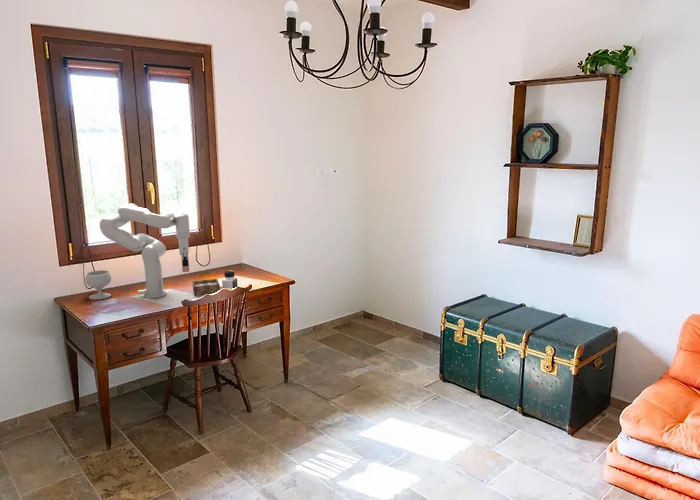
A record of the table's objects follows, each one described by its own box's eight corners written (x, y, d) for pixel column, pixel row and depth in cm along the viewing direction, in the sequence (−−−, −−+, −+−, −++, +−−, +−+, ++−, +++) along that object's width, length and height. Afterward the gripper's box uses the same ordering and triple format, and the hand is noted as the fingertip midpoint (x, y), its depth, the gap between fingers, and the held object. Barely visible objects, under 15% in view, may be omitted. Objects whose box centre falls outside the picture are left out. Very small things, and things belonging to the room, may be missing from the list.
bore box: (194, 296, 303) (193, 287, 302) (192, 290, 316) (192, 281, 315) (220, 293, 308) (219, 284, 307) (217, 287, 321) (216, 278, 320)
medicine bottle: (233, 291, 313) (232, 272, 310) (222, 291, 314) (221, 272, 312) (237, 288, 320) (236, 270, 317) (227, 287, 321) (226, 269, 319)
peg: (182, 272, 299) (181, 252, 296) (182, 270, 302) (180, 251, 300) (189, 271, 300) (188, 252, 298) (189, 270, 304) (187, 250, 301)
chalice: (93, 302, 293) (90, 277, 290) (83, 297, 302) (80, 273, 299) (117, 296, 304) (114, 272, 300) (106, 292, 313) (104, 268, 309)
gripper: (175, 233, 303) (178, 262, 307) (177, 238, 288) (179, 269, 292) (189, 232, 306) (191, 261, 309) (190, 237, 290) (192, 268, 294)
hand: (185, 265), depth 300 cm, fingers closed on peg, 4 cm apart
